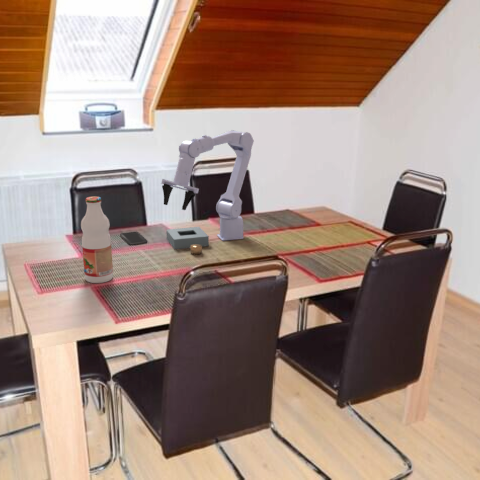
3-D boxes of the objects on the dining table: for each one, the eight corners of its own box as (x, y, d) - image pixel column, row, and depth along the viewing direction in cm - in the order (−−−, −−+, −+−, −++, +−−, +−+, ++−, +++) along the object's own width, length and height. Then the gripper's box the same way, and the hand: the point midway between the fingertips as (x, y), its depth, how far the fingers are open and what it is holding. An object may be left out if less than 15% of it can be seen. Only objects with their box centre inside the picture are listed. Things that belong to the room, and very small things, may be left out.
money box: (199, 235, 235) (199, 226, 233) (208, 245, 222) (208, 236, 221) (166, 238, 230) (166, 229, 229) (174, 249, 218) (174, 239, 216)
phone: (129, 243, 221) (119, 233, 234) (129, 246, 222) (119, 236, 234) (148, 241, 225) (137, 231, 237) (148, 243, 225) (137, 233, 238)
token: (200, 251, 216) (200, 243, 215) (203, 254, 212) (203, 247, 211) (189, 252, 215) (189, 244, 214) (192, 255, 211) (192, 248, 210)
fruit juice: (111, 283, 184) (106, 201, 175) (82, 284, 183) (75, 201, 174) (114, 273, 193) (109, 194, 184) (87, 273, 192) (80, 194, 183)
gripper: (162, 166, 206) (153, 201, 207) (197, 175, 203) (188, 211, 204) (169, 168, 213) (160, 202, 214) (203, 178, 210) (194, 212, 211)
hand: (174, 207), depth 209 cm, fingers open, 7 cm apart
